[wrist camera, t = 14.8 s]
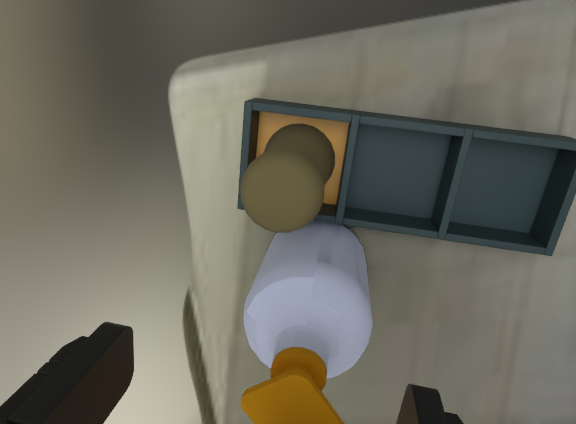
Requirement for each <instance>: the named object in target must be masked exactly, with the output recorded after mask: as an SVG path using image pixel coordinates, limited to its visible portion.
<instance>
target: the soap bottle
mask: <svg viewBox="0 0 576 424" xmlns="http://www.w3.org/2000/svg"><path fill="white" fill-rule="evenodd" d="M243 323H244V328H245V332H246V335H247V338H248V341H249V345H250V347H251V348H252V350H253V351H254V352H255V354H256V355H257V356H258V358H259V359H260V360H261V362H263V363H264V364H265V365H267V366H268V367H270V368H271V379H269V380H267V381H265V382H262V383H260V384H258V385H255V386H253V387H251V388H248V389H246V390H245V392H244V394H243V395H242V398H241V407H242V409H243V410H244V411H245V413H246V414H247V415H248V416H249V418H250V419H251V420H252V421H253V423H254V424H344V422H343V421H342V420H341V418H340V417H339V415H338V414H337V413H336V411H335V410H334V409H333V407H332V406H331V404H330V403H329V402H328V400H327V399H326V398H325V396H324V395H323V393H322V392H321V391H322V389H323V388H324V386H325V384H326V379H329V378H333V377H337V376H339V375H340V374H342V373H343V372H345V371H347V370H348V369H350V368H351V367H353V366H354V365H355V363H356V362H357V361H358V359H359V358H360V357H361V355H362V354H363V353H364V351H365V349H366V348H367V346H368V344H369V340H370V335H371V331H372V327H373V322H372V312H371V303H370V293H369V284H368V274H367V265H366V259H365V254H364V248H363V247H362V245H361V243H360V242H359V240H358V239H357V237H356V236H355V234H354V233H353V232H351V231H350V230H349V229H347V228H346V227H345V226H344V225H342V224H335V223H328V222H321V221H314V220H313V221H311V222H310V223H308V224H307V225H306V226H304V227H303V228H301V229H299V230H296V231H292V232H289V233H276V235H275V237H274V238H273V240H272V242H271V244H270V246H269V248H268V250H267V252H266V254H265V257H264V259H263V261H262V264H261V266H260V268H259V271H258V273H257V275H256V277H255V280H254V282H253V284H252V287H251V289H250V291H249V293H248V296H247V298H246V300H245V306H244V316H243Z"/></svg>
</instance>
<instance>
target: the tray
mask: <svg viewBox="0 0 576 424" xmlns="http://www.w3.org/2000/svg"><path fill="white" fill-rule="evenodd" d="M298 123H304V124H307V125H311V126H314V127H316V128H317V129H319V130H320V131H322V132H323V133H324V134H325V135H326V136H327V138H328V139H329V140H330V142H331V143H332V146H333V149H334V152H335V166H334V169H333V172H332V175H331V177H330V178H329V180H328V181H327V182H326V184H325V185H324V200H323V203H322V206H321V209H320V211H319V213H318V214H317V215H316V217H315V218H314V219H313V220H314V221H321V222H328V223H335V224H343V225H348V226H355V227H361V228H368V229H375V230H381V231H388V232H395V233H401V234H408V235H415V236H421V237H428V238H435V239H441V240H448V241H455V242H461V243H468V244H475V245H481V246H488V247H495V248H501V249H508V250H515V251H521V252H528V253H535V254H541V255H543V254H544V255H548V256H552V254H553V251H554V249H555V246H556V244H557V241H558V238H559V236H560V233H561V230H562V228H563V225H564V222H565V220H566V217H567V214H568V212H569V209H570V206H571V204H572V201H573V198H574V196H575V193H576V139H574V138H571V137H566V136H558V135H550V134H542V133H534V132H526V131H518V130H510V129H501V128H493V127H485V126H477V125H469V124H461V123H453V122H445V121H437V120H429V119H420V118H412V117H404V116H396V115H388V114H380V113H372V112H364V111H356V110H347V109H339V108H331V107H323V106H315V105H307V104H299V103H291V102H283V101H274V100H266V99H258V98H254V99H251V100H247V101H245V104H244V119H243V134H242V149H241V164H240V179H239V194H238V209H241V210H245V209H244V206H243V204H242V202H241V192H240V186H241V182H242V177H243V174H244V172H245V171H246V169H247V167H248V166H249V164H250V163H251V162H252V161H253V160H255V159H256V158H257V157H258V156H260V155H261V154H262V153H264V150H265V147H266V144H267V142H268V141H269V139H270V138H271V136H272V135H273V134H274V133H275V132H276V131H278V130H279V129H280V128H282V127H284V126H287V125H290V124H298Z"/></svg>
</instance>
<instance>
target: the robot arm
mask: <svg viewBox="0 0 576 424" xmlns="http://www.w3.org/2000/svg"><path fill="white" fill-rule="evenodd" d="M133 352H134V350H133V330H132V328H131V327H129V326H124V325H119V324H114V323H109V322H104V323H103V324H101V325H100V326H99V327H98V328H97V329H96V330H95V331H94V332H93V333H92V334H91V335H90V336H89V337H85V336H81V337H79V338H78V339H76V340H74V341H72V342H70V343H68V344H67V345H65V346H63V347H62V348H61V349H60V350H59V351H58V352H57V353H56V354H55V355H54V356H53V357H52V358H51V359H50V360H49V362H46V363H45V364H44V365H43V366H42V367H41V368H40V369H39V370H38V372H37V374H34V375H33V376H32V377H31V378H30V379H29V380H28V381H26V382H25V383H24V384H23V385H22V386H21V387H20V388H19V389H18V390H17V391H16V392H15V393H14V394H13V395H12V396H11V397H10V398H9V399H8V400H7V401H5V402H4V403H3V404H2V405H1V406H0V424H103V423H104V421H105V420H106V419H107V417H108V416H109V414H110V413H111V412H112V410H113V409H114V407H115V406H116V404H117V403H118V402H119V400H120V399H121V398H122V396H123V395H124V393H125V392H126V390H127V389H128V387H129V385H130V382H131V380H132V376H133V372H134V353H133ZM396 424H464V423H463V422H462V421H461V419H460V418H459V417H458V415H457V414H452V413H447V412H444V409H443V405H442V401H441V398H440V394H439V392H438V390H437V389H432V388H427V387H422V386H418V385H413V384H408V386H407V388H406V391H405V395H404V398H403V402H402V405H401V409H400V412H399V416H398V419H397V423H396Z"/></svg>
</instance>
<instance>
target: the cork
mask: <svg viewBox="0 0 576 424" xmlns="http://www.w3.org/2000/svg"><path fill="white" fill-rule="evenodd" d="M334 166H335V152H334V149H333V146H332V143H331V142H330V140H329V139H328V138H327V136H326V135H325V134H324V133H323V132H322V131H320V130H319V129H317V128H316V127H314V126H311V125H307V124H304V123H298V124H290V125H287V126H284V127H282V128H280V129H279V130H278V131H276V132H275V133H274V134H273V135H272V136H271V138H270V139H269V141H268V142H267V144H266V147H265V150H264V153H262V154H261V155H260V156H258V157H257V158H256V159H255V160H253V161H252V162H251V163H250V164H249V166H248V167H247V169H246V171H245V172H244V174H243V177H242V182H241V186H240V192H241V202H242V204H243V206H244V209H245V211H246V213H247V214H248V215H249V217H250V218H251V219H252V220H253V221H254V222H255V223H256V224H258V225H259V226H261V227H262V228H264V229H267V230H270V231H273V232H276V233H289V232H292V231H296V230H299V229H301V228H303V227H304V226H306V225H307V224H308V223H310V222H311V221H313V219H314V218H315V217H316V215H317V214H318V213H319V211H320V209H321V206H322V203H323V200H324V185H325V184H326V182H327V181H328V180H329V178H330V177H331V175H332V172H333V169H334Z"/></svg>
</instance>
